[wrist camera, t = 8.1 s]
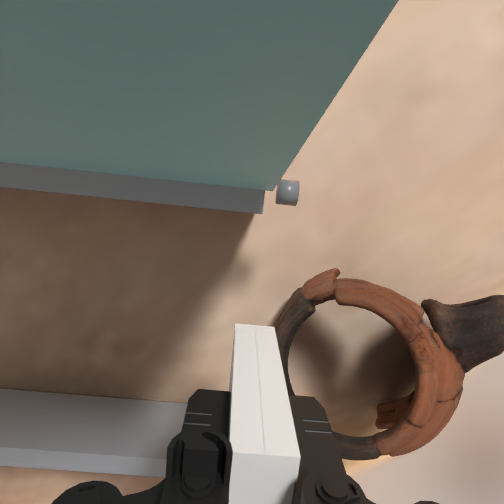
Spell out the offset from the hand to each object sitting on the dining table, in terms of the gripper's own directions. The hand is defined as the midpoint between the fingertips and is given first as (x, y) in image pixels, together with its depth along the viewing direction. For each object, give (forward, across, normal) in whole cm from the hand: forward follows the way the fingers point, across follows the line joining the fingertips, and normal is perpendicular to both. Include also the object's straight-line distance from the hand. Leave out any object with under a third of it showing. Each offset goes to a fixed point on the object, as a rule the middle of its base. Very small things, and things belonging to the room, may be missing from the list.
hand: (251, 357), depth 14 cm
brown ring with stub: (+7, +7, -1) cm, 10 cm away
